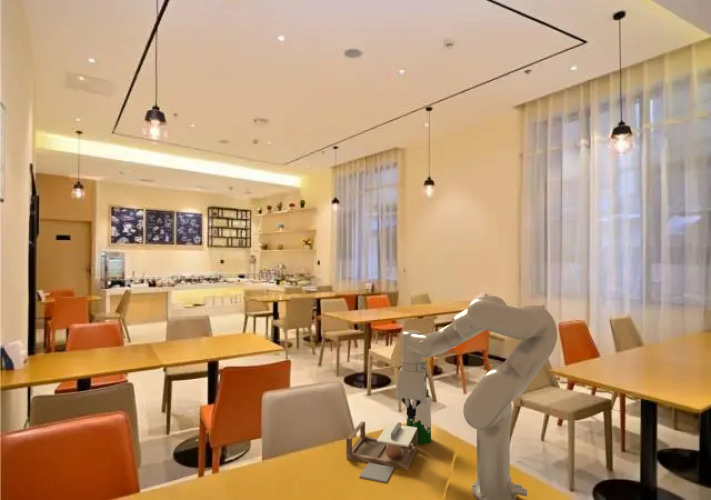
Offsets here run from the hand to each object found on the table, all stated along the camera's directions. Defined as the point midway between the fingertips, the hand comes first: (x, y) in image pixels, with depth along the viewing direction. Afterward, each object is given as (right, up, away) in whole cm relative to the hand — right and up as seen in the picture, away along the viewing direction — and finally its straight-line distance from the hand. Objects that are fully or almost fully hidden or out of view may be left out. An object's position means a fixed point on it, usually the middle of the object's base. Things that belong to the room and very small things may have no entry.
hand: (411, 417), depth 141 cm
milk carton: (+5, -16, +14) cm, 21 cm away
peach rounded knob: (-6, -14, +2) cm, 15 cm away
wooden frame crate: (-10, -15, +3) cm, 18 cm away
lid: (-5, -7, +1) cm, 8 cm away
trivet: (-13, -15, -10) cm, 22 cm away
